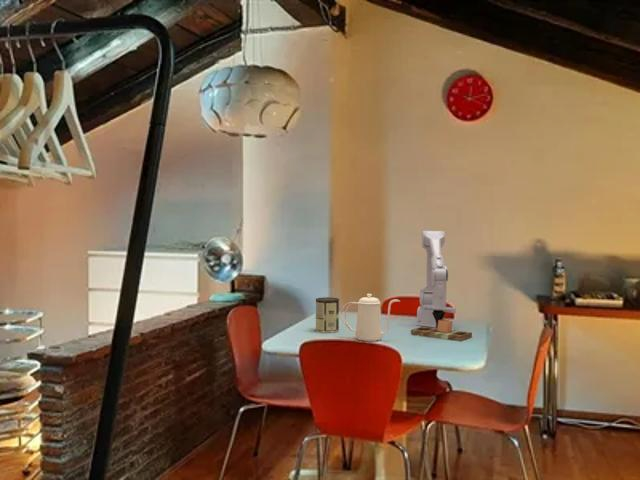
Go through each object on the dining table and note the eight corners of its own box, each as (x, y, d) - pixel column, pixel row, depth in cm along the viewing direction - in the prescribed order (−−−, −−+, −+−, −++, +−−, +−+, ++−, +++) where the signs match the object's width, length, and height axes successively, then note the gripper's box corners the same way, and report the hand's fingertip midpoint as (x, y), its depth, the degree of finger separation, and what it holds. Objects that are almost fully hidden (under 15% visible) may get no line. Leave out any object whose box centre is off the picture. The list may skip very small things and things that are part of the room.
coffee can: (326, 327, 316) (326, 296, 315) (343, 330, 309) (344, 298, 308) (310, 330, 308) (310, 298, 308) (327, 333, 301) (328, 301, 301)
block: (437, 330, 297) (438, 320, 297) (441, 329, 301) (443, 318, 300) (446, 333, 295) (448, 322, 294) (451, 331, 298) (452, 321, 298)
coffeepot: (396, 344, 281) (397, 297, 280) (337, 339, 289) (337, 293, 288) (402, 339, 291) (403, 293, 290) (344, 334, 299) (345, 290, 298)
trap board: (410, 334, 301) (410, 330, 301) (422, 331, 310) (422, 326, 310) (460, 341, 288) (461, 336, 288) (471, 337, 297) (471, 332, 297)
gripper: (419, 295, 300) (419, 327, 300) (451, 298, 291) (450, 331, 292) (427, 294, 305) (426, 325, 306) (458, 297, 297) (457, 329, 298)
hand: (438, 328), depth 299 cm, fingers closed, pressing on block
